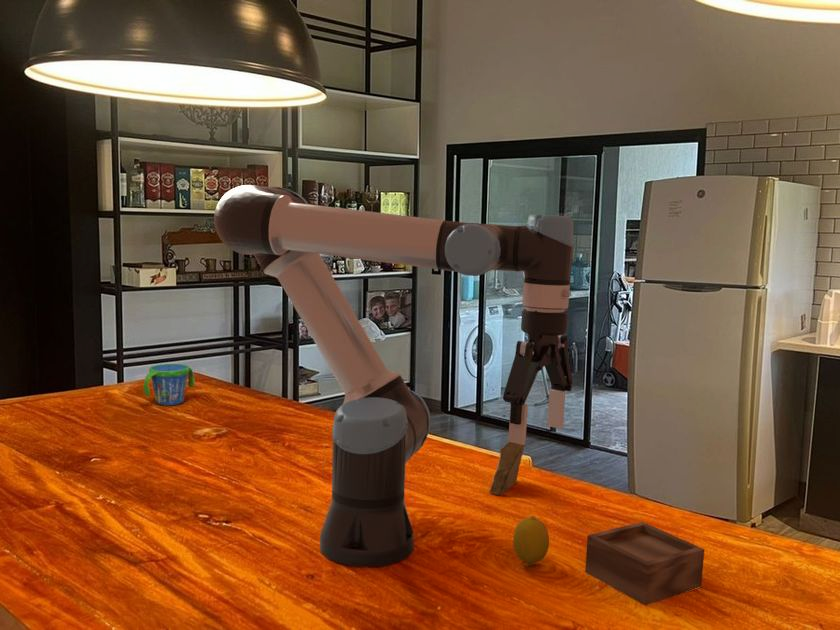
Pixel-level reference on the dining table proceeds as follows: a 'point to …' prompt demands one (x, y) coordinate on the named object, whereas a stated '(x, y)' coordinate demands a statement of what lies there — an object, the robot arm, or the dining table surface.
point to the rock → (507, 468)
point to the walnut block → (644, 562)
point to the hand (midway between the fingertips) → (536, 434)
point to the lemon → (531, 540)
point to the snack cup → (169, 383)
